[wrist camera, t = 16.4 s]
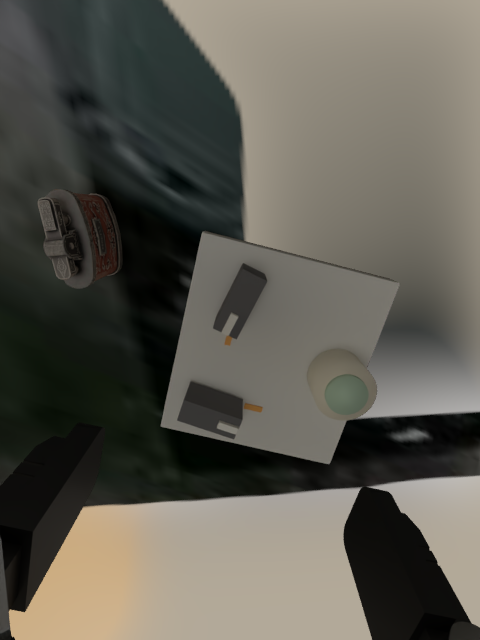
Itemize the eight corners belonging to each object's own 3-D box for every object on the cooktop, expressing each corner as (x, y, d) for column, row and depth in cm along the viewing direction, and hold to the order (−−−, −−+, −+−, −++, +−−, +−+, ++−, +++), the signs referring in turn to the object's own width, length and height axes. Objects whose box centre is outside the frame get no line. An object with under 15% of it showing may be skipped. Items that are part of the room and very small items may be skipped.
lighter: (127, 272, 37) (87, 292, 28) (96, 275, 37) (45, 297, 28) (111, 192, 35) (61, 184, 25) (78, 196, 35) (16, 189, 26)
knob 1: (190, 381, 38) (183, 402, 34) (242, 399, 38) (242, 422, 34) (183, 399, 38) (176, 422, 34) (235, 417, 39) (233, 441, 35)
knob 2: (264, 273, 34) (267, 282, 30) (237, 326, 36) (236, 341, 32) (242, 262, 34) (242, 269, 30) (216, 315, 36) (212, 329, 31)
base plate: (165, 414, 42) (149, 452, 35) (205, 230, 36) (195, 234, 29) (324, 450, 43) (339, 494, 36) (390, 278, 37) (422, 293, 30)
